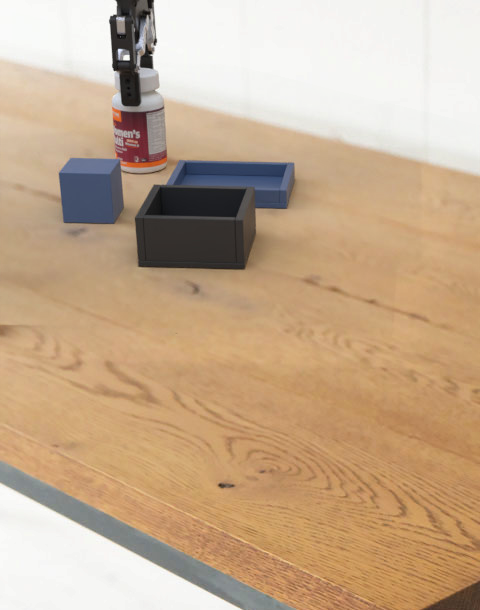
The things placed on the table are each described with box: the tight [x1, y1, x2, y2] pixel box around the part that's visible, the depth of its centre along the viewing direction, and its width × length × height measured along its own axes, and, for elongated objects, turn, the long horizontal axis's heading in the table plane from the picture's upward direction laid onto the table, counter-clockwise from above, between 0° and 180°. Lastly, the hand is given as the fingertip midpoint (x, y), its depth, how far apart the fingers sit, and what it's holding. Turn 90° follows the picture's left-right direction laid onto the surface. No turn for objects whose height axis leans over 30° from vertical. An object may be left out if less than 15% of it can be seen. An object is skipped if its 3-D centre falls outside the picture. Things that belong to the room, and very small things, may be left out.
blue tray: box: [165, 159, 296, 209], centre depth 154 cm, size 14×11×2 cm
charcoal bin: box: [134, 184, 257, 270], centre depth 137 cm, size 11×11×5 cm
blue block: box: [58, 157, 125, 225], centre depth 146 cm, size 6×6×6 cm
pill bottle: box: [111, 68, 168, 174], centre depth 161 cm, size 6×6×11 cm
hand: (138, 96), depth 159 cm, fingers open, 8 cm apart
